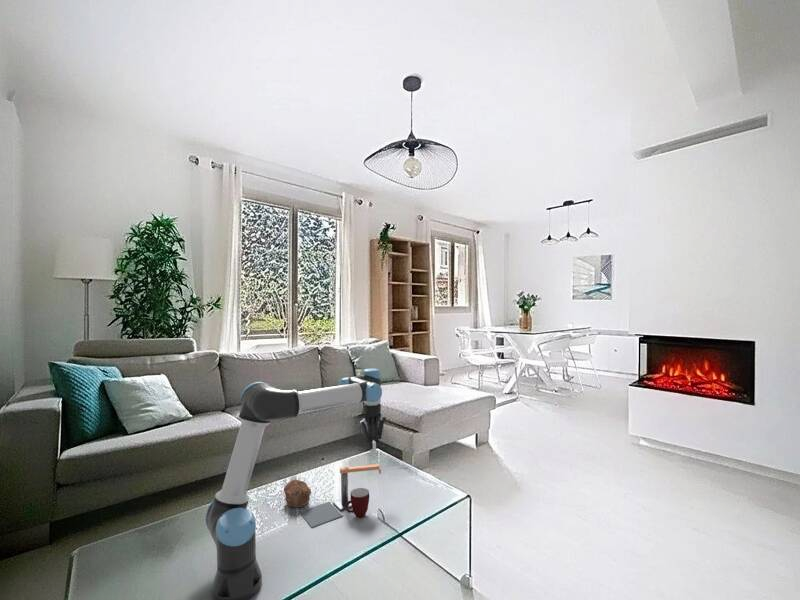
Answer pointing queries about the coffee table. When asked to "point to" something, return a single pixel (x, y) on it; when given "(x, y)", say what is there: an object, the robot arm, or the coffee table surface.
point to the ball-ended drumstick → (360, 468)
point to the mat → (320, 514)
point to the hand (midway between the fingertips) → (373, 455)
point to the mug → (359, 502)
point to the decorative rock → (297, 493)
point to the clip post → (343, 494)
